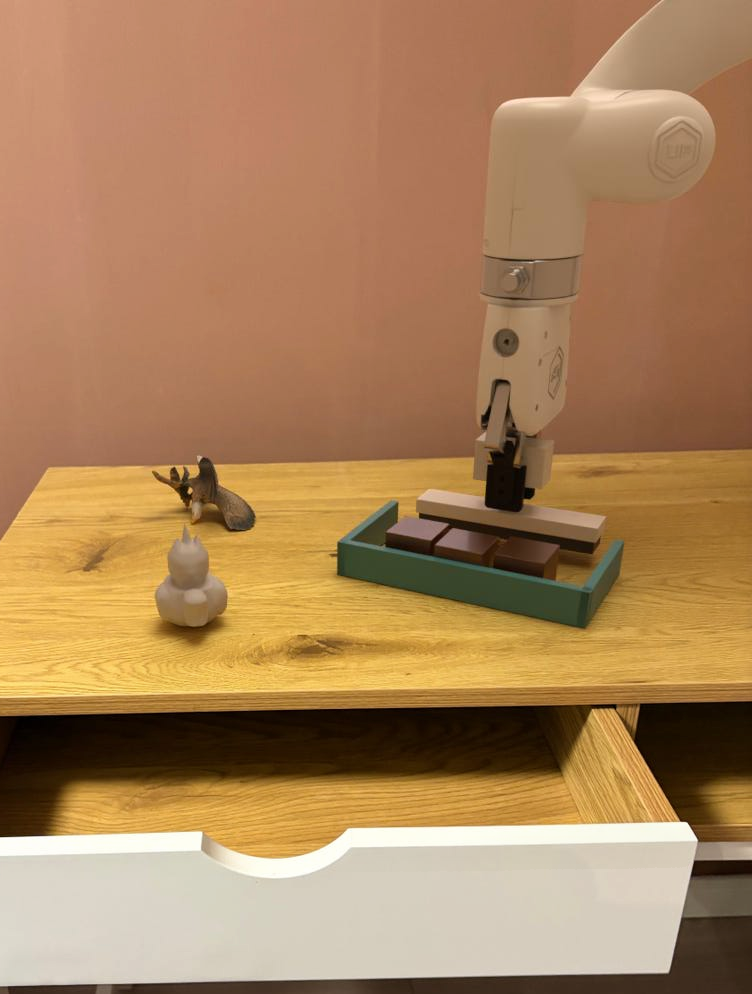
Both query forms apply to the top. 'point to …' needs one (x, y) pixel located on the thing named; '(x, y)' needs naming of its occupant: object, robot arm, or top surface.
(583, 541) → the brush
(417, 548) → the block
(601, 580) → the corral
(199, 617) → the grey rounded lumpy piece
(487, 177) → the robot arm
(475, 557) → the block
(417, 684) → the top surface
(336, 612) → the top surface
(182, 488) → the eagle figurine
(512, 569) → the block
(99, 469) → the top surface
